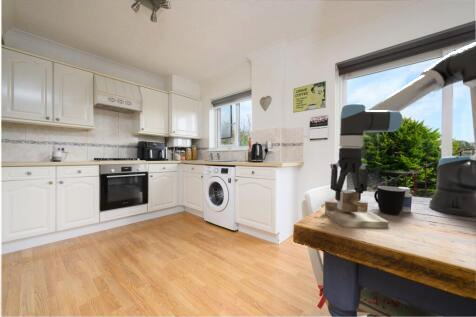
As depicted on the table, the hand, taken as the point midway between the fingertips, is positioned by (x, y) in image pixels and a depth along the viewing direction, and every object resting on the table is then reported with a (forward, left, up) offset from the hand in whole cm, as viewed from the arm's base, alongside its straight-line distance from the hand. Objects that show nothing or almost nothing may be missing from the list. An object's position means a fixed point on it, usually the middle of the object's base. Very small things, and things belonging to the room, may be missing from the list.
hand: (347, 208), depth 76 cm
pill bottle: (-29, -10, -4) cm, 31 cm away
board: (-2, +2, -4) cm, 4 cm away
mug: (-21, -8, -4) cm, 23 cm away
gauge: (0, +3, 0) cm, 3 cm away
